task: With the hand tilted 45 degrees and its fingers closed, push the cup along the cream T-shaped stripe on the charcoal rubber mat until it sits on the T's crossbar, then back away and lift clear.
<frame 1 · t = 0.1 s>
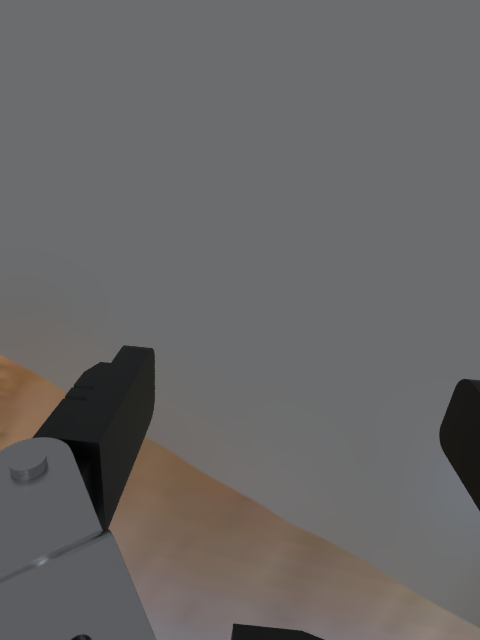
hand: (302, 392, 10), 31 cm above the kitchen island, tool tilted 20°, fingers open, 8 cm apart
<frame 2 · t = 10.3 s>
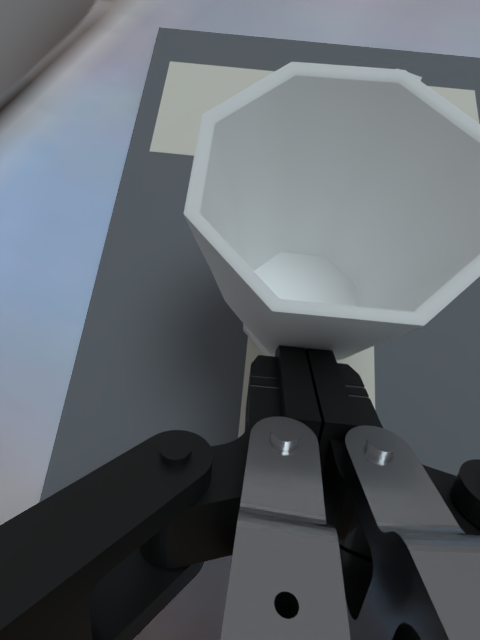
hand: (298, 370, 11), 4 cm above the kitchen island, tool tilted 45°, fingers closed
t mat: (314, 233, 17), on the kitchen island
cup: (309, 288, 16), resting on t mat, touching gripper
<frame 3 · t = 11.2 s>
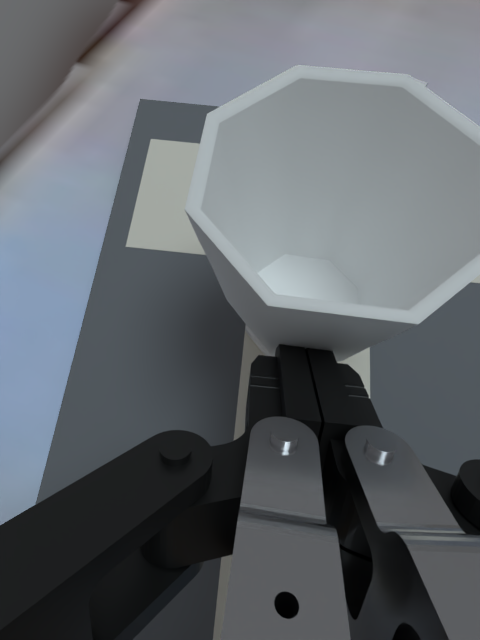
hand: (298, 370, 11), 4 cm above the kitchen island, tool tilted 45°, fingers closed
t mat: (306, 344, 15), on the kitchen island
cup: (313, 291, 16), resting on t mat, touching gripper
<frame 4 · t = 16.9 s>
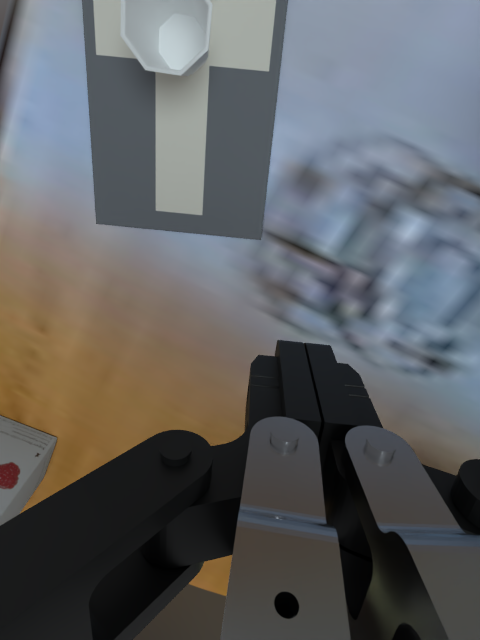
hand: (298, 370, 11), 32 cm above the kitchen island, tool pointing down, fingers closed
t mat: (181, 106, 37), on the kitchen island
cup: (193, 30, 34), resting on t mat
supplement box: (22, 445, 56), on the kitchen island
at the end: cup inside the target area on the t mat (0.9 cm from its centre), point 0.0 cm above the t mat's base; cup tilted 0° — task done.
